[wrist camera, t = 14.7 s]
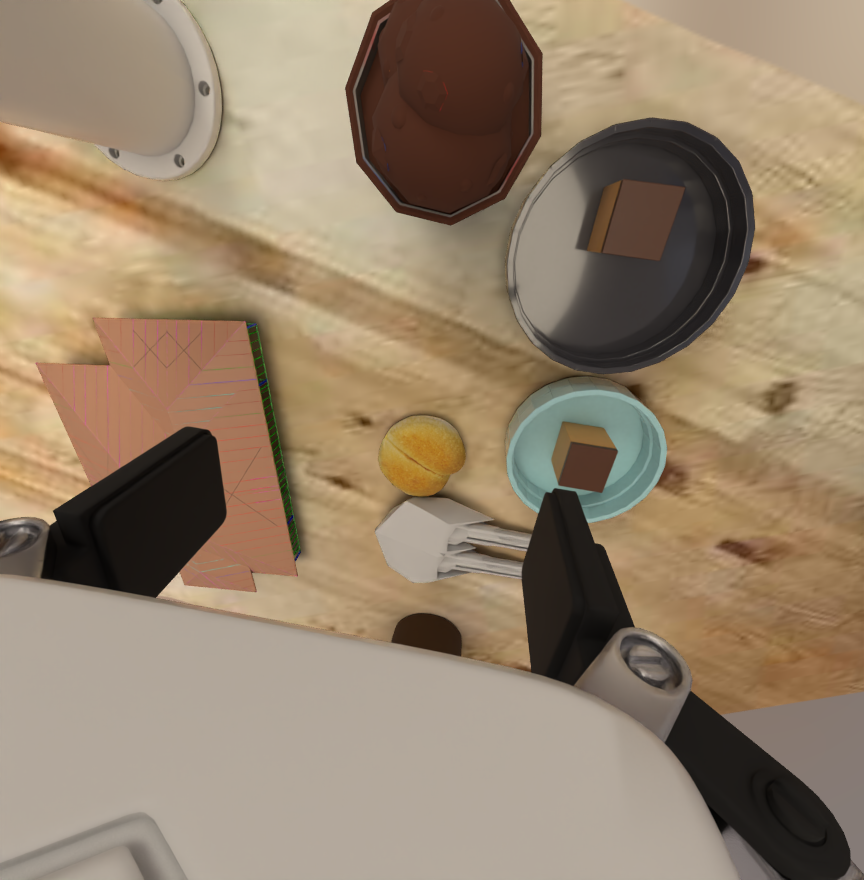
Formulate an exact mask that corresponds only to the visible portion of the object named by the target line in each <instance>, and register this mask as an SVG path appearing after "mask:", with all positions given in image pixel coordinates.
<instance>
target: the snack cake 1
mask: <svg viewBox="0 0 864 880" xmlns="http://www.w3.org/2000/svg"><path fill="white" fill-rule="evenodd" d="M617 454H618V450H617V448H616V447H615V445H614V443H613V442H612V440H611V439H610V437H609V435H608V434H607V432H606V430H605V429H604V428H601V427H595V426H589V425H583V424H576V423H570V422H564V421H563V422H562V425H561V428H560V432H559V435H558V438H557V442H556V445H555V448H554V452H553V455H552V458H551V461H552V465H553V468H554V472H555V475H556V479H557V482H558V485H559V486H564V487H569V488H575V489H581V490H587V491H593V492H599V493H602V492H603V490H604V487H605V485H606V482H607V479H608V477H609V474H610V472H611V469H612V467H613V464H614V461H615V459H616V456H617Z"/></svg>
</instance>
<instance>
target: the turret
mask: <svg viewBox="0 0 864 880" xmlns="http://www.w3.org/2000/svg"><path fill="white" fill-rule="evenodd" d="M489 520H495V519H493V518H490V517H488V516H486V515H484V514H482V513H479V512H477V511H475V510H473V509H471V508H468V507H466V506H464V505H462V504H460V503H457V502H455V501H453V500H451V499H448V498H435V497H413V498H411V499H409V500H407V501H405V502H403V503H401V504H400V505H398V506H396V507H395V508H393V509H391V511H390V512H389V513H388V514H387V515H386V517H385V518H384V519H383V520H382V522H381V523H380V524H379V525H378V526H377V528H376V529H375V534H376V536H377V539H378V542H379V544H380V547H381V549H382V552H383V555H384V557H385V560H386V562H387V565H388V566H389V567H391V568H392V569H394V570H395V571H396V572H398V573H399V574H401V575H402V576H404V577H405V578H407V579H408V580H409V581H411V582H412V583H428V582H433V581H437V580H441V579H445V578H450V577H454V576H458V575H463V574H467V573H471V572H473V573H486V574H492V575H498V576H504V577H510V578H516V579H522V566H523V562H518V561H512V560H506V559H501V558H495V557H490V556H488V555H483V554H479V553H477V552H476V551H474V550H472V549H475V548H476V547H474V546H472V545H470V544H468V543H466V542H469V543H475V544H480V545H486V546H498V547H504V548H510V549H515V550H521V551H527V549H528V546H529V543H530V539H531V536H532V534H528V533H523V532H517V531H512V530H506V529H502V528H500V527H495V526H490V525H488V524H486V523H485V522H483V521H489Z"/></svg>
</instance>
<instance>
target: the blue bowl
mask: <svg viewBox="0 0 864 880" xmlns="http://www.w3.org/2000/svg"><path fill="white" fill-rule="evenodd" d="M563 421H564V422H570V423H576V424H583V425H589V426H595V427H601V428H604V429H605V430H606V432H607V434H608V435H609V437H610V439H611V440H612V442H613V443H614V445H615V447H616V448H617V450H618V454H617V456H616V459H615V461H614V464H613V467H612V469H611V472H610V474H609V477H608V479H607V482H606V485H605V487H604V490H603V492H602V493H599V492H593V491H587V490H581V489H575V488H569V487H564V486H559V485H558V482H557V479H556V475H555V472H554V468H553V465H552V461H551V458H552V455H553V452H554V448H555V445H556V442H557V438H558V435H559V432H560V428H561V425H562V422H563ZM505 451H506V464H507V474H508V477H509V480H510V482H511V485H512V488H513V490H514V491H515V493H516V494H517V495H518V496H519V498H520V499H521V500H522V501H523V503H524V504H526V505H527V506H528V507H530V508H531V509H532V510H534V511H535V512H537V513H539V510H540V507H541V504H542V500H543V497H544V494H545V493H546V492H550V493H552V491H553V489H554V488H558V489H564V490H570V491H575V492H576V493H577V495H578V498H579V501H580V503H581V506H582V509H583V512H584V515H585V517H586V520H587V523H593V522H597V521H601V520H605V519H610V518H612V517H615V516H617V515H619V514H621V513H623V512H625V511H628V510H629V509H631V508H632V507H633V506H635V505H636V504H637V503H639V502H640V501H641V500H643V499H644V498H645V497H646V496H647V495H648V493H649V492H650V491H651V490H652V489H653V487H654V486H655V485H656V484H657V482H658V480H659V478H660V476H661V473H662V471H663V469H664V467H665V461H666V453H667V445H666V440H665V435H664V431H663V429H662V427H661V425H660V423H659V422H658V420H657V418H656V417H655V415H654V414H653V413H652V412H651V411H650V410H649V409H648V407H647V406H646V405H645V404H644V403H643V402H642V401H641V400H640V399H639V398H638V397H637V396H636V395H634V394H633V393H632V392H631V391H630V390H629V389H627V388H626V387H625V386H622V385H620V384H618V383H616V382H613V381H611V380H609V379H604V378H597V377H591V376H583V377H572V378H566V379H563V380H560V381H557V382H554V383H551V384H548V385H546V386H544V387H543V388H541V389H540V390H538V391H536V392H535V393H533V394H532V395H531V396H529V397H528V398H527V399H526V400H525V401H524V403H523V404H522V405H521V406H520V407H519V408H518V409H517V410H516V412H515V414H514V416H513V418H512V419H511V421H510V423H509V425H508V429H507V433H506V438H505Z"/></svg>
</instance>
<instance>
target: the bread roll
mask: <svg viewBox="0 0 864 880" xmlns="http://www.w3.org/2000/svg"><path fill="white" fill-rule="evenodd" d="M465 457H466V456H465V448H464V445H463V442H462V439H461V438H460V436H459V434H458V432H457V431H456V429H455V428H454V427H453V426H452V425H451V424H449V423H448V422H447V421H445V420H442V419H440V418H437V417H432V416H426V415H418V416H411V417H408V418H405V419H403V420H401V421H400V422H397V423H396V424H395V425H394V426H392V427H391V428H390V430H389V431H388V433H387V434H386V436H385V437H384V439H383V441H382V443H381V445H380V449H379V456H378V461H379V465H380V469H381V471H382V472H383V473H384V475H385V476H386V478H387V479H388V480H389V481H390V482H391V483H392V485H394V486H396V487H397V488H398V489H400V490H401V491H403V492H404V493H406V494H408V495H411V496H420V497H422V496H430V495H433V494H435V493H437V492H439V491H440V490H441V489H442V488H443V487H444V486H445V484H446V483H447V481H448V479H449V476H450V474H453V473H455V472H457V471H459V470H460V469H461V468H462V466H463V465H464V463H465Z"/></svg>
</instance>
